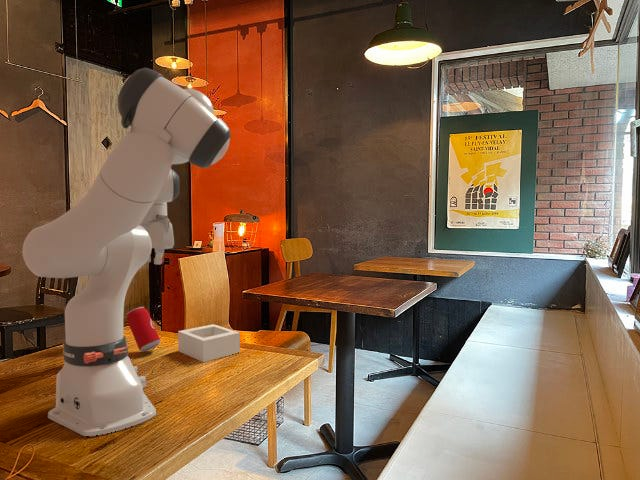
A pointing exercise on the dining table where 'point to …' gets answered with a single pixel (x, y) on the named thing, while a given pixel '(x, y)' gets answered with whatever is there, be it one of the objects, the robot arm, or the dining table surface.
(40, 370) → the dining table surface
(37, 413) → the dining table surface
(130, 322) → the beverage can
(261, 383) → the dining table surface
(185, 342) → the white square frame
